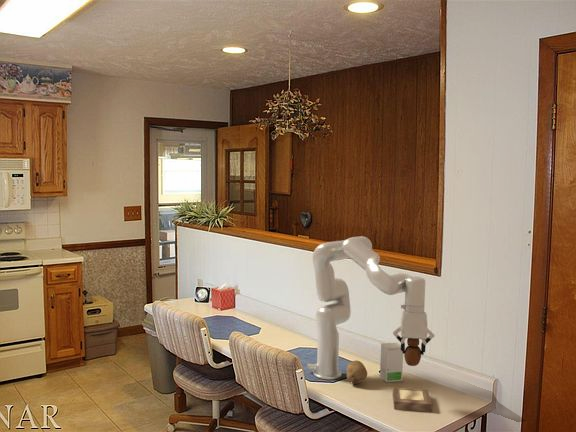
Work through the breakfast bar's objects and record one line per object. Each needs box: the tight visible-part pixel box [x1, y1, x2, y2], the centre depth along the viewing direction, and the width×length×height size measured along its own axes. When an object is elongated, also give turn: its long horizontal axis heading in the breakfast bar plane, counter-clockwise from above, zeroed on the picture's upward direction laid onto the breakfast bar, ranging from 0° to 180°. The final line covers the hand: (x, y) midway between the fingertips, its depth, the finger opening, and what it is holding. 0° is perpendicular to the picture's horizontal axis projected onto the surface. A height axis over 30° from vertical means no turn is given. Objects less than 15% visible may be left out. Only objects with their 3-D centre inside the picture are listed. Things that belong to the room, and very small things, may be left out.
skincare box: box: [379, 342, 404, 383], centre depth 239 cm, size 8×7×16 cm
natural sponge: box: [345, 360, 368, 385], centre depth 234 cm, size 9×9×10 cm
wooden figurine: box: [403, 338, 422, 367], centre depth 213 cm, size 7×6×15 cm
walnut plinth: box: [392, 387, 433, 413], centre depth 215 cm, size 14×14×3 cm
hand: (412, 352), depth 214 cm, fingers closed on wooden figurine, 6 cm apart
